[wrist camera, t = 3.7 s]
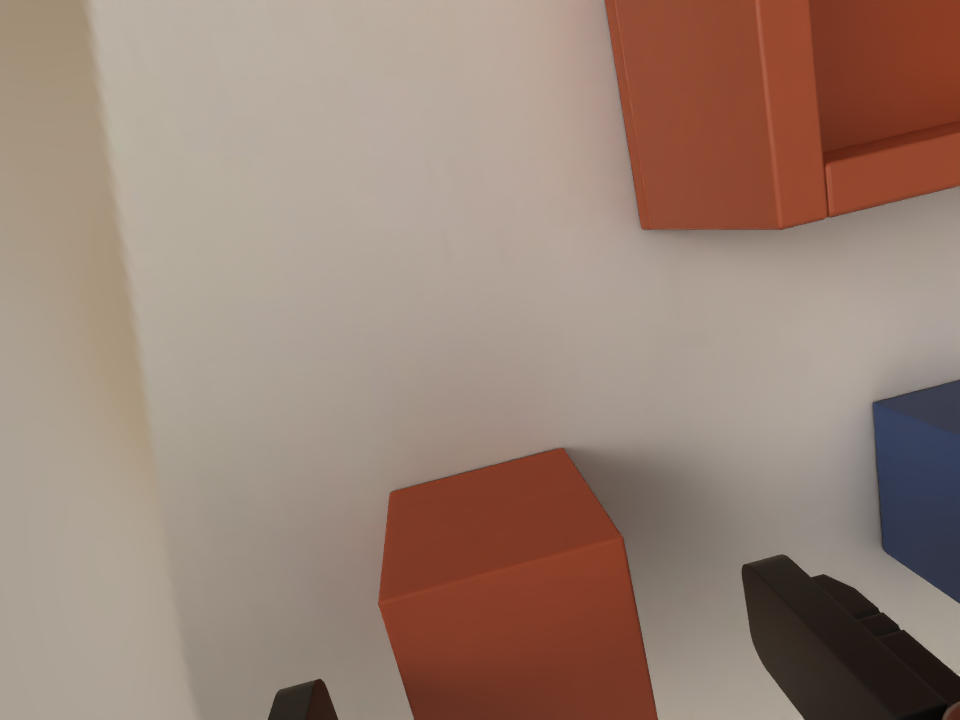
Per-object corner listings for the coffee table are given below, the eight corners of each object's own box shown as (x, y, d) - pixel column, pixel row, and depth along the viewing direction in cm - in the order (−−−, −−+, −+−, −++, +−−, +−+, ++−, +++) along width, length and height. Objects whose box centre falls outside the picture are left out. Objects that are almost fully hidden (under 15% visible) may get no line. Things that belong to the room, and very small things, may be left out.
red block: (432, 642, 16) (439, 802, 12) (388, 490, 15) (376, 603, 10) (595, 598, 16) (662, 738, 12) (563, 446, 15) (624, 536, 11)
